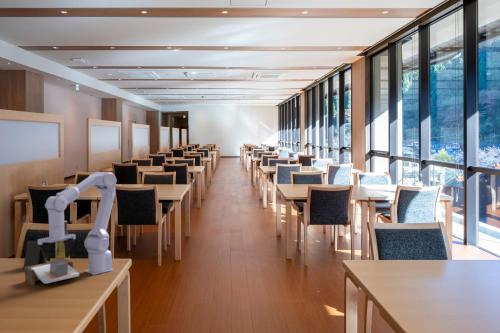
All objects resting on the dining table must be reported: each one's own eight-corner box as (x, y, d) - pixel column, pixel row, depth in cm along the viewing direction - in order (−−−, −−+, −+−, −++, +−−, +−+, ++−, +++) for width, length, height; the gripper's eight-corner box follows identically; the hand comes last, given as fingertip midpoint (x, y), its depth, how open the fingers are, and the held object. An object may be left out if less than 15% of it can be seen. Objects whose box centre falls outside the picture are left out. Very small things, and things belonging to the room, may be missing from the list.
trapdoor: (30, 270, 188) (30, 267, 188) (64, 263, 198) (64, 260, 198) (44, 283, 178) (44, 281, 178) (79, 275, 188) (79, 273, 188)
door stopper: (35, 270, 206) (34, 243, 205) (23, 269, 206) (22, 243, 206) (46, 264, 215) (45, 239, 214) (34, 264, 215) (33, 239, 215)
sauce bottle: (56, 265, 213) (54, 222, 212) (54, 262, 219) (53, 220, 218) (71, 263, 216) (69, 221, 215) (69, 260, 222) (68, 219, 221)
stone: (61, 269, 189) (62, 258, 188) (67, 274, 186) (68, 263, 185) (49, 272, 186) (50, 260, 185) (55, 277, 182) (55, 265, 181)
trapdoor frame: (65, 272, 201) (65, 259, 200) (73, 276, 196) (72, 262, 195) (25, 281, 189) (24, 267, 188) (32, 285, 184) (31, 270, 183)
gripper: (42, 229, 177) (43, 264, 178) (78, 224, 187) (79, 257, 188) (35, 227, 182) (36, 261, 182) (70, 222, 192) (71, 254, 193)
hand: (57, 259), depth 186 cm, fingers open, 7 cm apart
